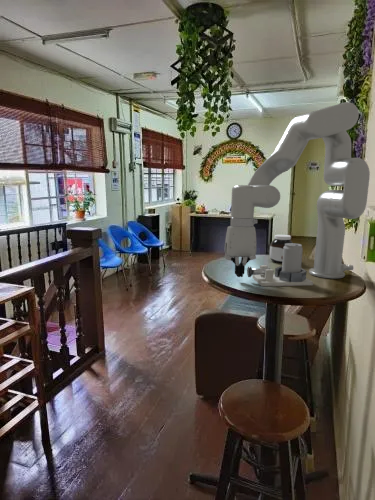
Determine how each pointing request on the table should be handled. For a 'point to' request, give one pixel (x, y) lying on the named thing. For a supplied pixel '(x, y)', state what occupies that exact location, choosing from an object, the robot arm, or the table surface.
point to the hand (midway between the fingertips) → (239, 275)
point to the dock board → (276, 279)
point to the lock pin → (255, 271)
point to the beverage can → (292, 258)
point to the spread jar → (278, 247)
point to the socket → (290, 275)
